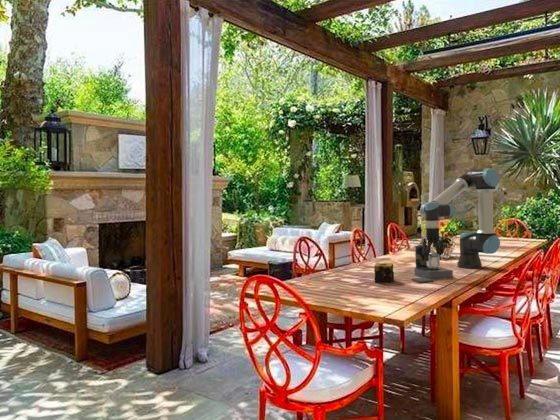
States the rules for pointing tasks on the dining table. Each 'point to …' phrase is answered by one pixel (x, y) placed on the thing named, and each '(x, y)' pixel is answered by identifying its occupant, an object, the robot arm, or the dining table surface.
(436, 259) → the silver metal cylinder
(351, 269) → the dining table surface
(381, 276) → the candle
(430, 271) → the housing
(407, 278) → the dining table surface
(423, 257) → the canister
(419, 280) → the coaster
